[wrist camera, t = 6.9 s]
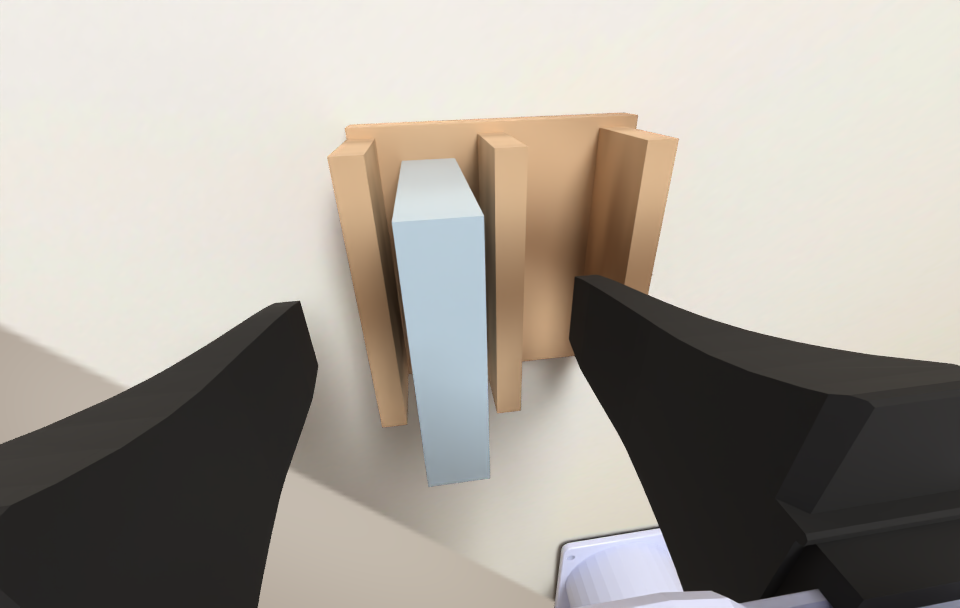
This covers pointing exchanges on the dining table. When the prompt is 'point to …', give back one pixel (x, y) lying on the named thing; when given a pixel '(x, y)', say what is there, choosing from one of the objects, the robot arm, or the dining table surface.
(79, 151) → the dining table surface
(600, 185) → the rack
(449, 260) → the pale blue upright slab
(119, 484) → the robot arm
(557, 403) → the dining table surface
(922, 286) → the dining table surface
